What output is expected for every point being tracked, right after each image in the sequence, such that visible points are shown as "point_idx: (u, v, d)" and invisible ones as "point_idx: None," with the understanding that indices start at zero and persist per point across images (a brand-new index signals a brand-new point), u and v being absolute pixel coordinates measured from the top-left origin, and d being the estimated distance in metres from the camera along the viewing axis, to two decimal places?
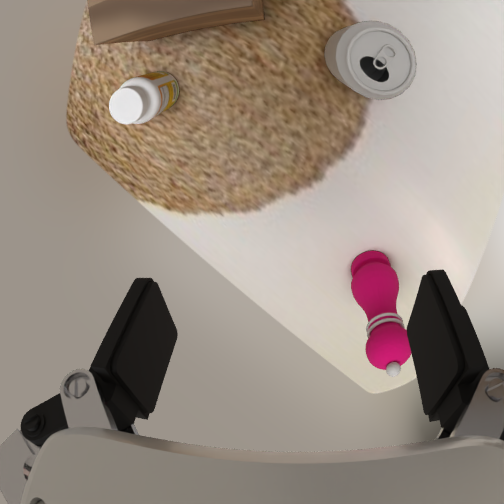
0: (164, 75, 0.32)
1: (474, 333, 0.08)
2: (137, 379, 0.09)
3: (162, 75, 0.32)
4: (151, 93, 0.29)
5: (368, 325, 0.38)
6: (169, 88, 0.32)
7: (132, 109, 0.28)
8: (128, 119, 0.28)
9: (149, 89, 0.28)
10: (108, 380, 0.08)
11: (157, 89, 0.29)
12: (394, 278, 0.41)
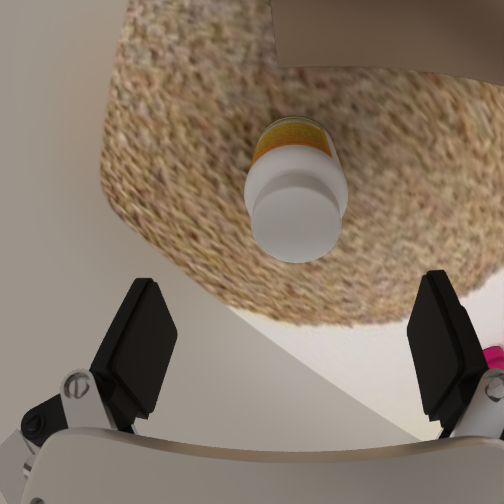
0: (323, 133, 0.18)
1: (474, 333, 0.08)
2: (137, 379, 0.09)
3: (322, 133, 0.18)
4: (340, 193, 0.15)
5: None
6: None
7: (312, 238, 0.14)
8: (298, 254, 0.15)
9: (337, 183, 0.14)
10: (108, 380, 0.08)
11: (346, 182, 0.15)
12: None
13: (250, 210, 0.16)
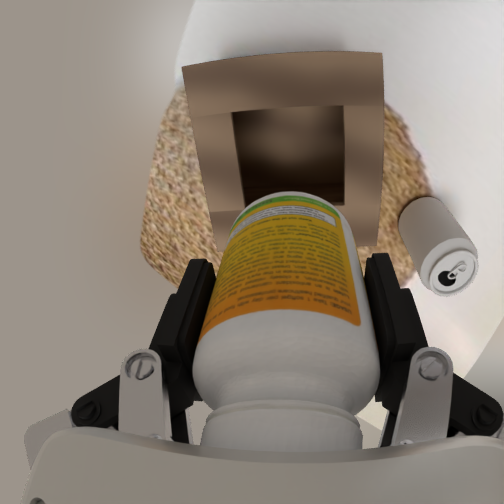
0: (340, 231, 0.11)
1: (416, 314, 0.09)
2: None
3: (339, 236, 0.10)
4: (366, 394, 0.07)
5: None
6: None
7: None
8: None
9: (365, 383, 0.07)
10: (173, 359, 0.08)
11: (379, 364, 0.08)
12: None
13: (205, 402, 0.09)
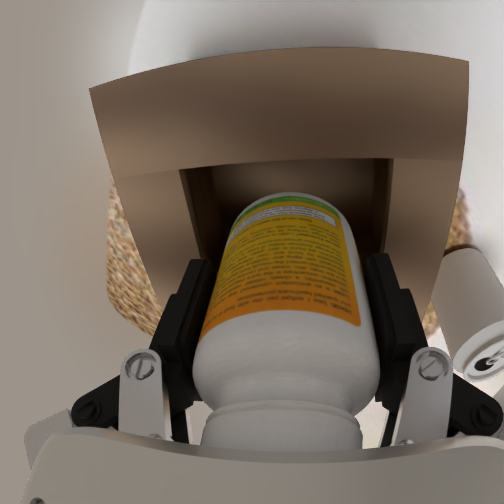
0: (340, 231, 0.11)
1: (417, 314, 0.09)
2: None
3: (339, 236, 0.10)
4: (366, 394, 0.07)
5: None
6: None
7: None
8: None
9: (365, 383, 0.07)
10: (173, 359, 0.08)
11: None
12: None
13: (205, 402, 0.09)
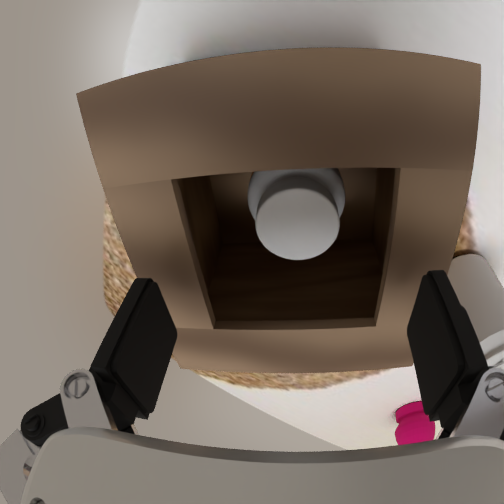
0: None
1: (474, 333, 0.08)
2: (137, 379, 0.09)
3: None
4: (338, 195, 0.16)
5: None
6: None
7: (312, 236, 0.15)
8: (299, 252, 0.16)
9: (335, 185, 0.16)
10: (108, 380, 0.08)
11: (343, 184, 0.16)
12: (432, 430, 0.39)
13: (253, 211, 0.17)
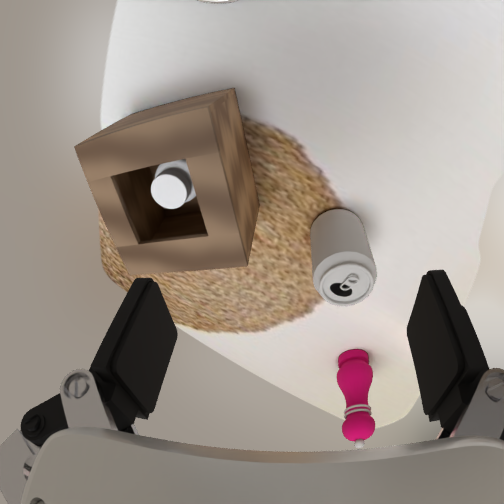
0: None
1: (474, 333, 0.08)
2: (137, 379, 0.09)
3: None
4: None
5: (345, 411, 0.50)
6: None
7: (175, 195, 0.31)
8: (172, 204, 0.32)
9: None
10: (108, 380, 0.08)
11: None
12: (368, 373, 0.54)
13: None
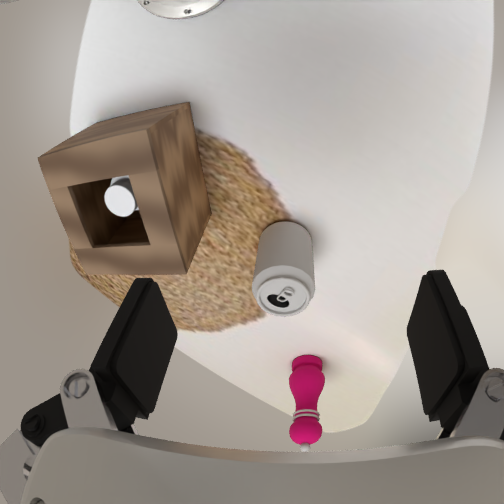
0: None
1: (474, 333, 0.08)
2: (137, 379, 0.09)
3: None
4: None
5: (293, 414, 0.53)
6: None
7: (125, 205, 0.33)
8: (123, 212, 0.33)
9: None
10: (108, 380, 0.08)
11: None
12: (319, 380, 0.57)
13: None
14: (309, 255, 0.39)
